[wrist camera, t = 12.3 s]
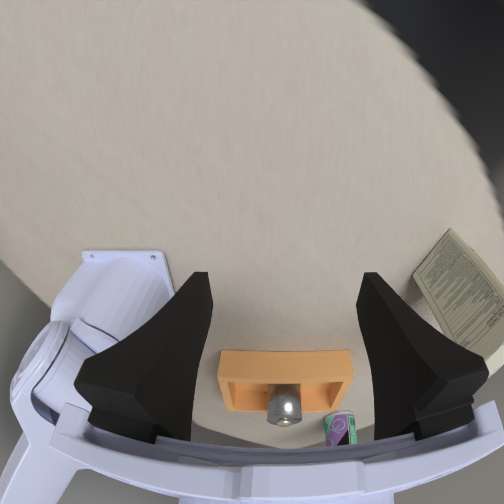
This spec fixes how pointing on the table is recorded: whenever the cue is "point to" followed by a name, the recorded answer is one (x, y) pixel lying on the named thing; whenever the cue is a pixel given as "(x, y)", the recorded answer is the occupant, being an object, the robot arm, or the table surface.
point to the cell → (284, 404)
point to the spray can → (340, 428)
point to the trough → (284, 378)
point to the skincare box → (465, 298)
